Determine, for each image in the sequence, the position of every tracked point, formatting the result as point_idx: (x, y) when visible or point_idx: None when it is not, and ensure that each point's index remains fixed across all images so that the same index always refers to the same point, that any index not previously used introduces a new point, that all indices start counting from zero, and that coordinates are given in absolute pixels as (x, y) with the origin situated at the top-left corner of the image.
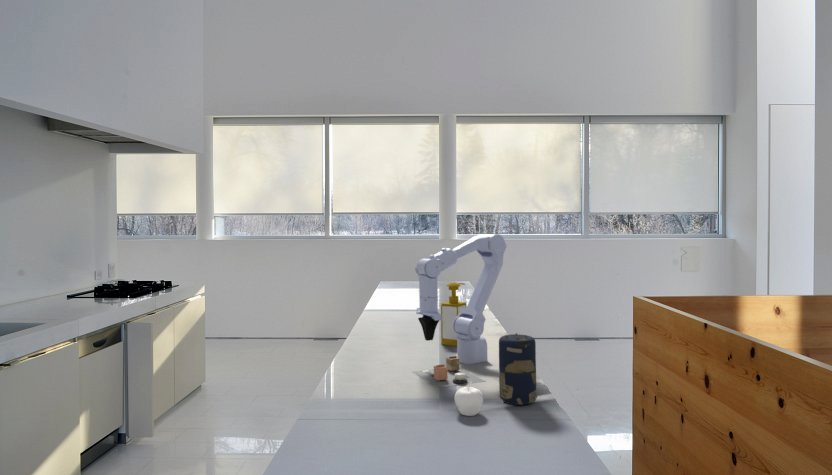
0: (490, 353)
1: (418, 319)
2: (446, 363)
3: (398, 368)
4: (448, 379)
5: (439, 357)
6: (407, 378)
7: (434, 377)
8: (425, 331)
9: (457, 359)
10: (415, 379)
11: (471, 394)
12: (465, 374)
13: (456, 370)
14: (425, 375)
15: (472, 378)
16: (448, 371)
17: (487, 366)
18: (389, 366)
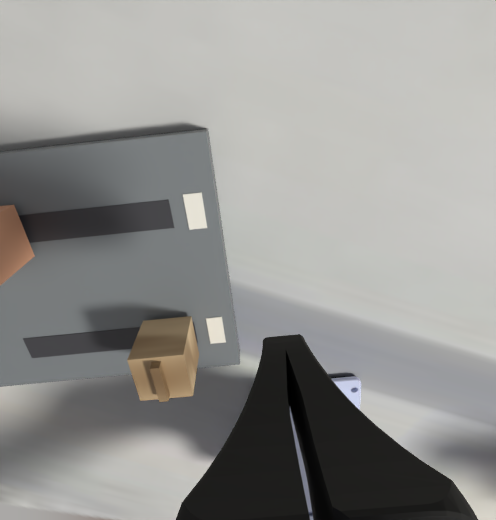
0: None
1: (446, 486)
2: (185, 332)
3: (404, 96)
4: None
5: (488, 359)
6: (157, 82)
7: (2, 207)
8: (263, 391)
9: (139, 389)
10: (125, 123)
11: None
12: (86, 357)
13: None
14: (103, 183)
15: (14, 361)
16: (158, 311)
17: None
18: (484, 50)
